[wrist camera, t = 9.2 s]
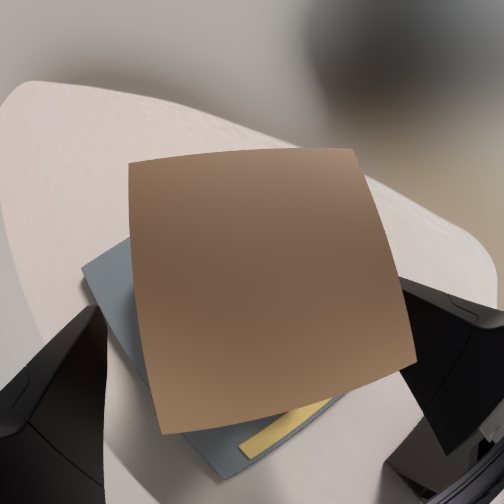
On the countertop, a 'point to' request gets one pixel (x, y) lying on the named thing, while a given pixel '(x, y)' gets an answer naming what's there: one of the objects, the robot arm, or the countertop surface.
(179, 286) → the walnut block
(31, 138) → the countertop surface
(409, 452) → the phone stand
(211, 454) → the slate board
